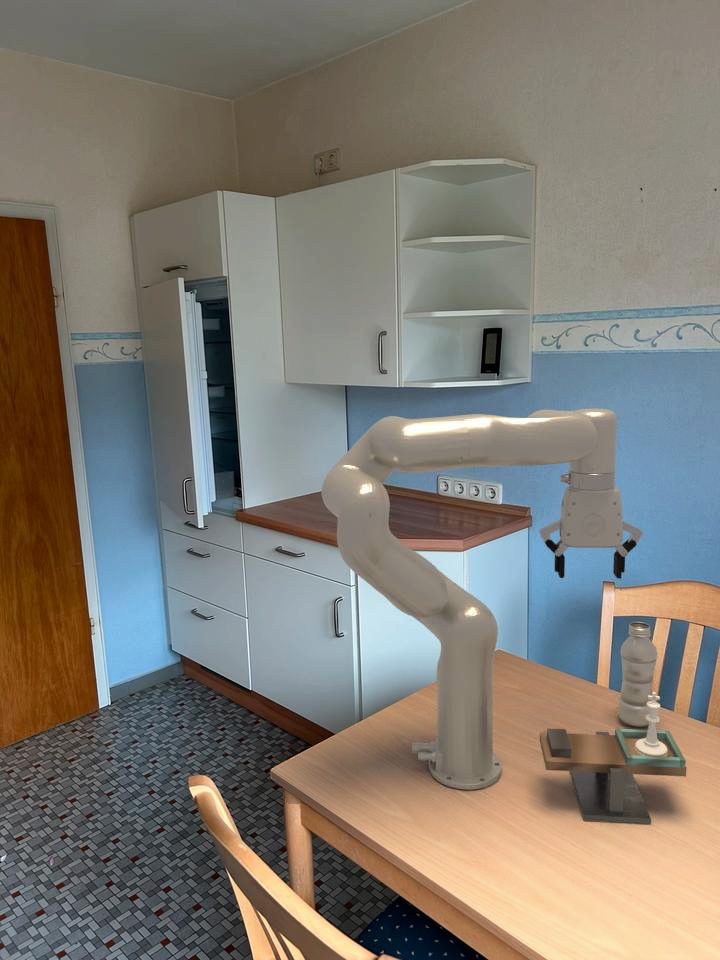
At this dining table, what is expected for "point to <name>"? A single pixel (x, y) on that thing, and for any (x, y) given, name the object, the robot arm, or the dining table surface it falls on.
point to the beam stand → (609, 796)
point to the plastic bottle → (637, 675)
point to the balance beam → (609, 753)
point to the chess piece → (651, 732)
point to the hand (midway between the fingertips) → (588, 575)
